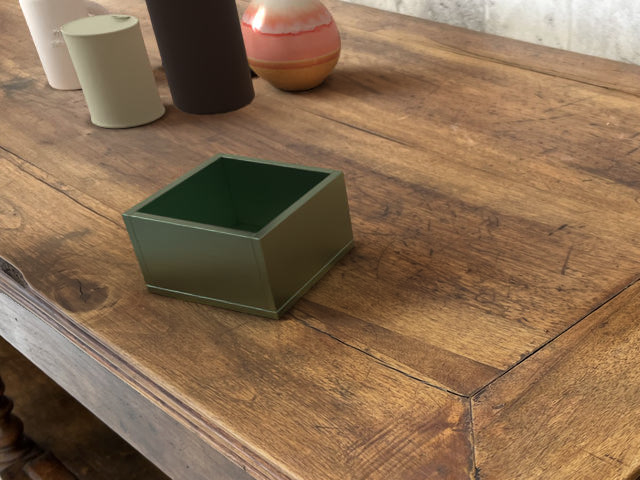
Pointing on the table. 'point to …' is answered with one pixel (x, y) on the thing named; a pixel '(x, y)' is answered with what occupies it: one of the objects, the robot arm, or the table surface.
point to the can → (114, 70)
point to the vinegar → (202, 54)
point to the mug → (57, 35)
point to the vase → (291, 42)
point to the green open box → (242, 233)
